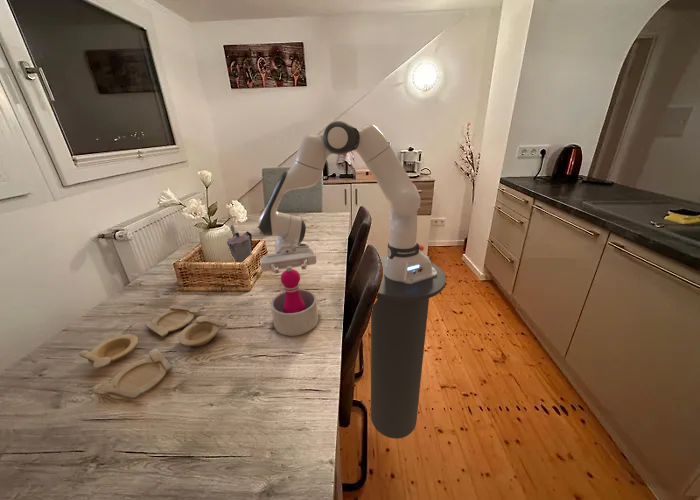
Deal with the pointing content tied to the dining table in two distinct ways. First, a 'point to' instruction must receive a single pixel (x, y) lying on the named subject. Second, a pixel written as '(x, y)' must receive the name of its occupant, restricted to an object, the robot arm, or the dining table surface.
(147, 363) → the tableware set
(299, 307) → the pepper mill
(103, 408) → the dining table surface
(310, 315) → the round grey bowl
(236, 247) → the moka pot
